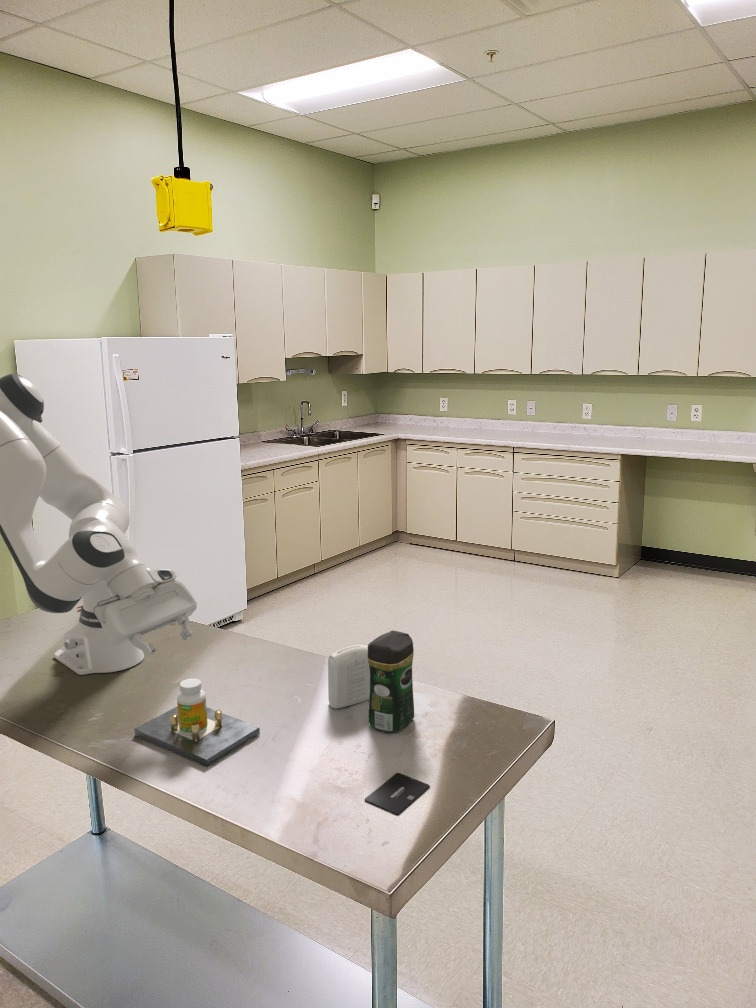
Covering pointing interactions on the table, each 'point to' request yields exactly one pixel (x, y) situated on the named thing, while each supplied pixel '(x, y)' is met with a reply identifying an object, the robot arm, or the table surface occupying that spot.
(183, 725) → the supplement bottle
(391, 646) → the coffee jar
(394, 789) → the solid state drive
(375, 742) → the table surface
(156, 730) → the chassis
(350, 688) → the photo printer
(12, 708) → the table surface
